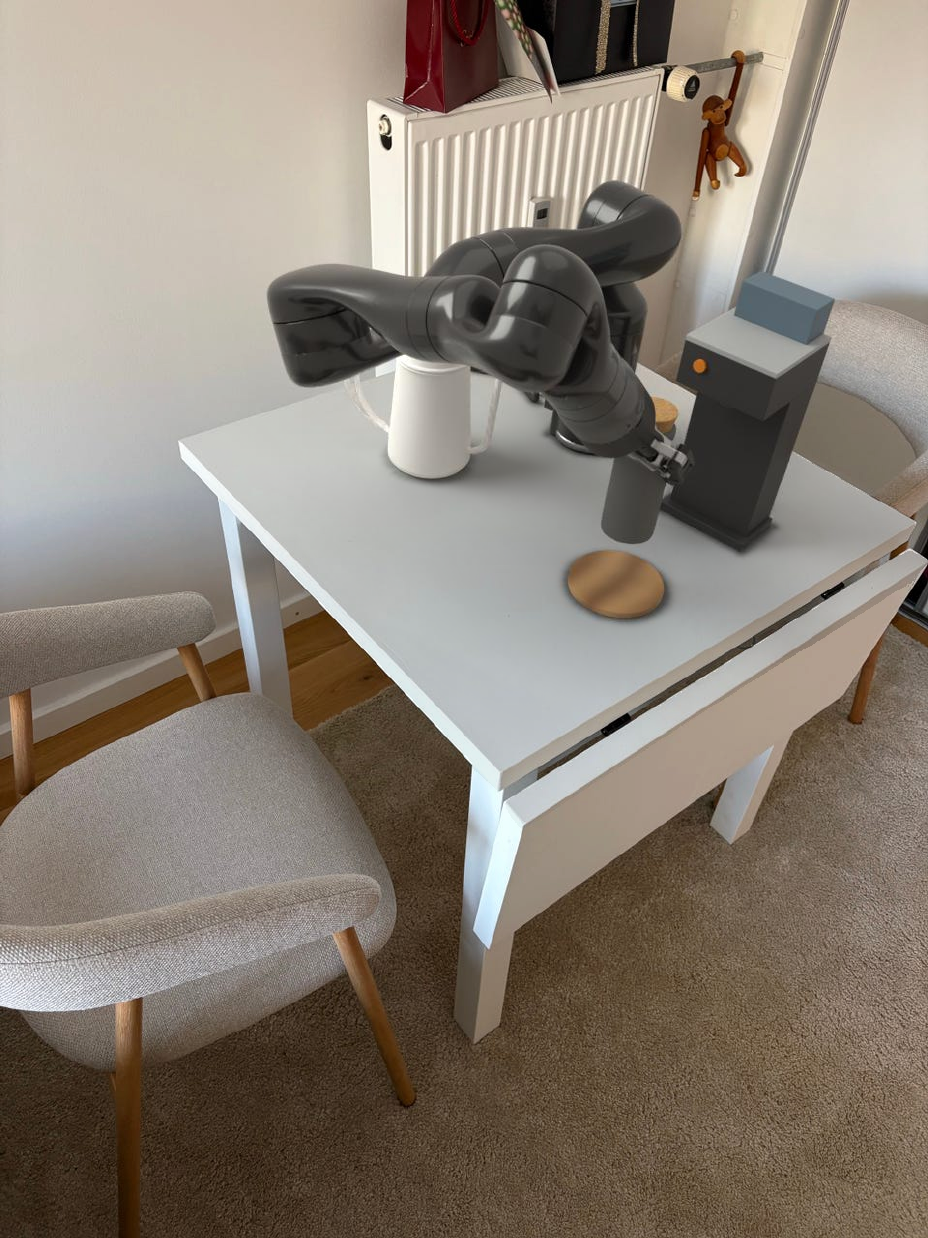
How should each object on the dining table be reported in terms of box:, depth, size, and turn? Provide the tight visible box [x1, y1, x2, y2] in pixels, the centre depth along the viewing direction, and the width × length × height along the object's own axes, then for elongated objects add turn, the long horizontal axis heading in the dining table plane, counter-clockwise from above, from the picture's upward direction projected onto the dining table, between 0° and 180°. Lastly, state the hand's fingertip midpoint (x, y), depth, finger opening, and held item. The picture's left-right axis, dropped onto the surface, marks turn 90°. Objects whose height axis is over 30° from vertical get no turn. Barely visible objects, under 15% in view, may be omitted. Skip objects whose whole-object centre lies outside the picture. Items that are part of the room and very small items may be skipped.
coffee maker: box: [660, 270, 836, 552], centre depth 113 cm, size 12×12×30 cm
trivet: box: [567, 549, 665, 619], centre depth 113 cm, size 11×11×1 cm
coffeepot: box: [342, 355, 503, 479], centre depth 124 cm, size 11×25×19 cm, turn 71°
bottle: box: [600, 396, 679, 545], centre depth 103 cm, size 6×6×15 cm
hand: (650, 463), depth 104 cm, fingers closed on bottle, 6 cm apart
